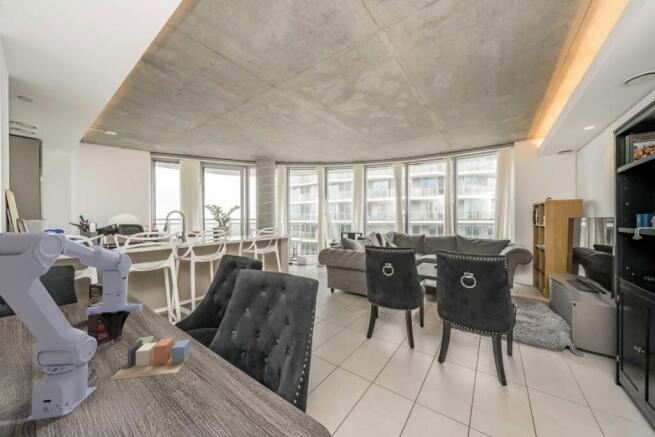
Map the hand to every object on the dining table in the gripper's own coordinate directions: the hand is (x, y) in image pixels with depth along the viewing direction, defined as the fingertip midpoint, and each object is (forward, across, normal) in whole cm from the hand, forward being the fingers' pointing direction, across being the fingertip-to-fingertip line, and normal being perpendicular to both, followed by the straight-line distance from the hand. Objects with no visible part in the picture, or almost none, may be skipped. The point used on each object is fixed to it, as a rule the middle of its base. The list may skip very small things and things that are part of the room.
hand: (115, 335), depth 77 cm
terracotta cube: (+9, -14, 0) cm, 16 cm away
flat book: (+10, -1, -14) cm, 17 cm away
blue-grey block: (+9, -19, 0) cm, 21 cm away
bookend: (+9, -5, 0) cm, 10 cm away
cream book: (+9, -9, 0) cm, 12 cm away
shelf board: (+9, -12, +2) cm, 15 cm away
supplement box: (+10, +12, -15) cm, 21 cm away
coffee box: (+10, +32, -46) cm, 57 cm away
